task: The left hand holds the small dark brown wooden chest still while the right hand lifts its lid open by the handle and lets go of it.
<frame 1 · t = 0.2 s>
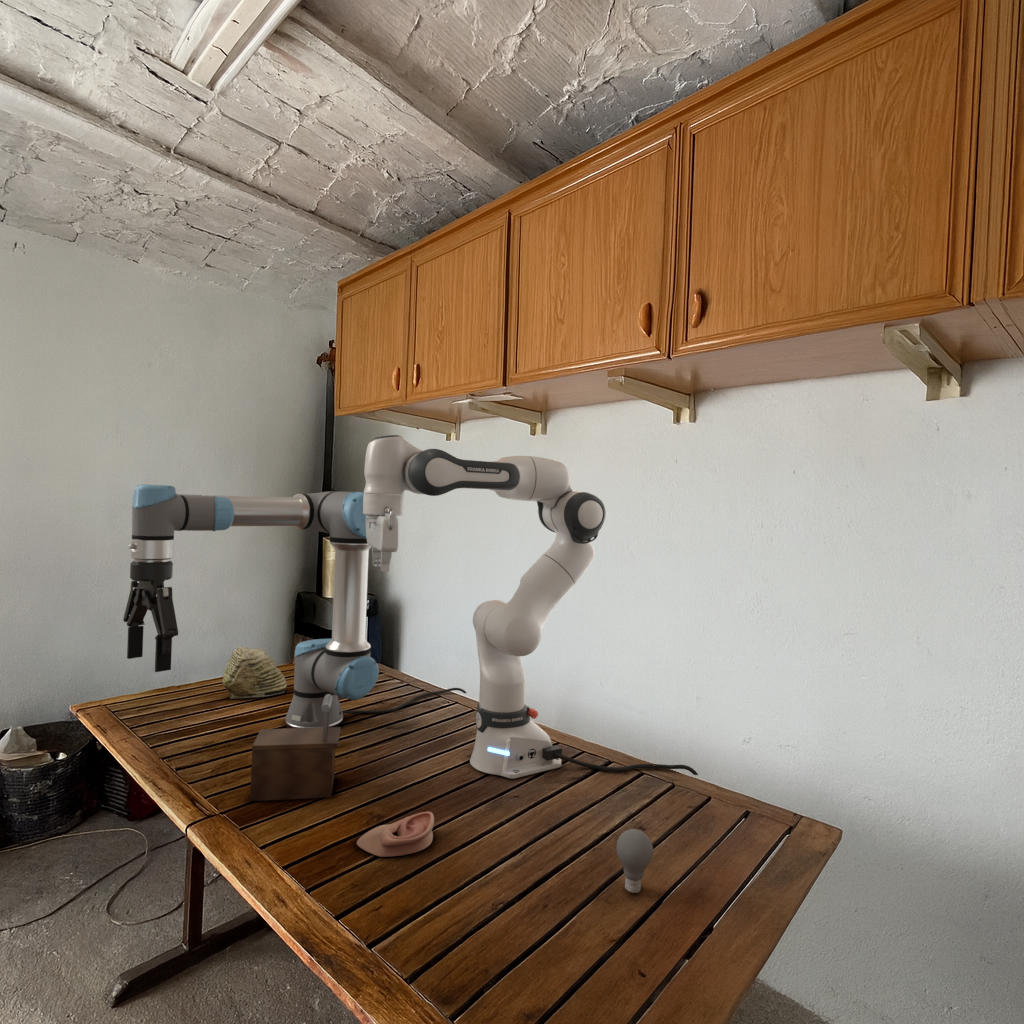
left hand: (148, 664, 129), 28 cm above the table, tool pointing down, fingers open, 13 cm apart
right hand: (380, 568, 142), 48 cm above the table, tool pointing down, fingers open, 8 cm apart
fossil: (254, 694, 198), on the table
anatomical model: (395, 841, 118), on the table
light bulb: (632, 891, 106), on the table
chest: (294, 789, 137), on the table
lid: (299, 720, 136), point 15 cm above the table, hinge at 0.0°
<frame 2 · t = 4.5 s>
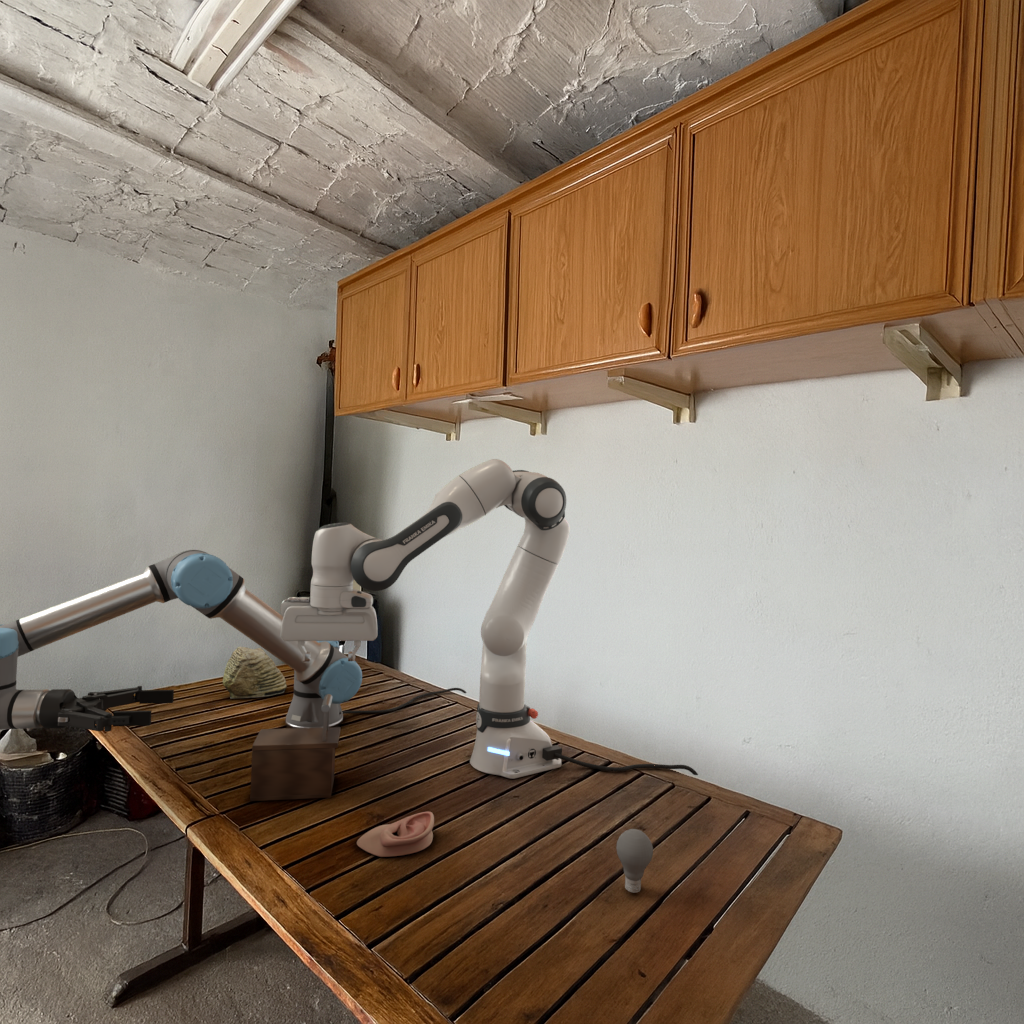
left hand: (162, 706, 131), 19 cm above the table, tool horizontal, fingers open, 13 cm apart
right hand: (329, 660, 137), 28 cm above the table, tool pointing down, fingers open, 8 cm apart
nothing on the table moved.
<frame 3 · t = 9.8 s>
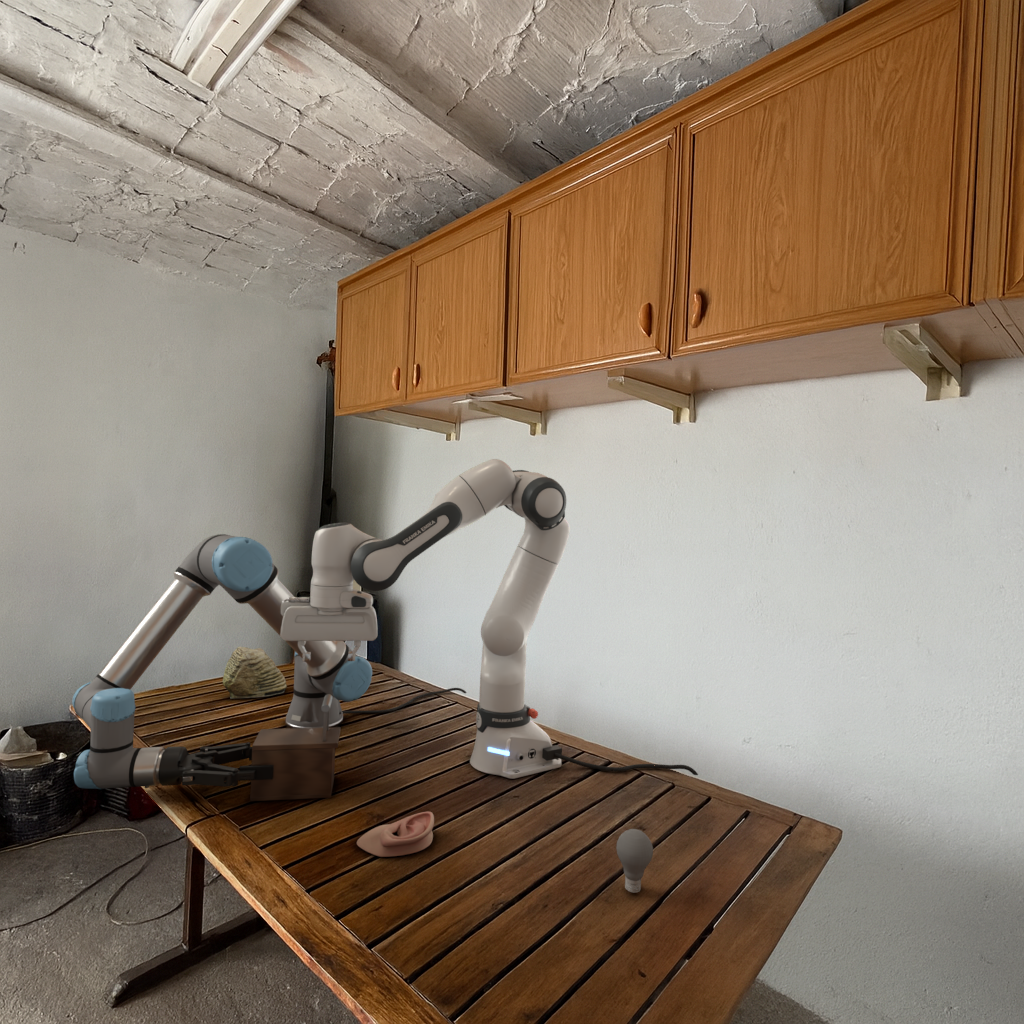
left hand: (276, 761, 136), 6 cm above the table, tool horizontal, fingers closed on chest, 9 cm apart
right hand: (329, 660, 137), 28 cm above the table, tool pointing down, fingers open, 8 cm apart
chest: (294, 789, 137), on the table, touching left hand
everything else where it was.
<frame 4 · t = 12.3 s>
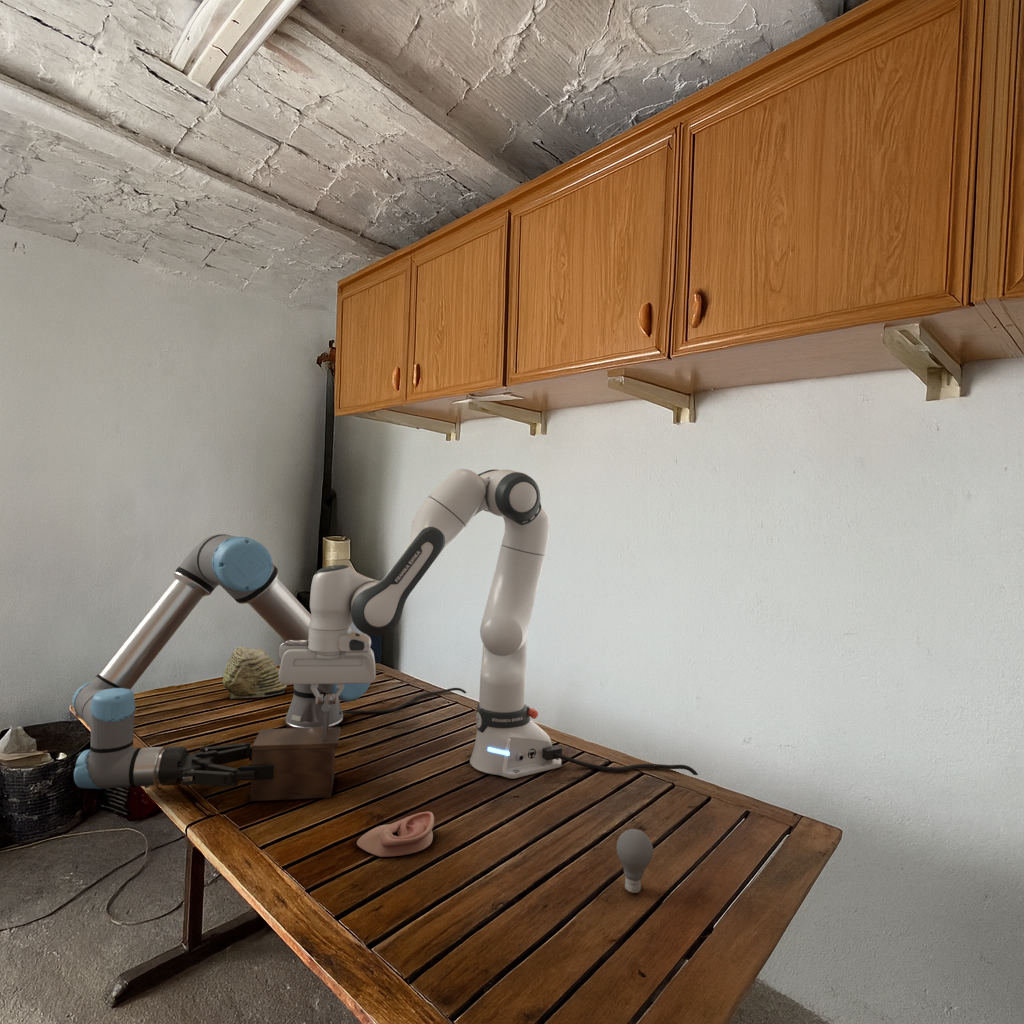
left hand: (276, 761, 136), 6 cm above the table, tool horizontal, fingers closed on chest, 9 cm apart
right hand: (327, 703, 138), 19 cm above the table, tool pointing down, fingers closed on lid, 2 cm apart
chest: (294, 789, 137), on the table, touching left hand
lid: (299, 720, 136), point 15 cm above the table, hinge at 0.0°, touching right hand
everything else where it was.
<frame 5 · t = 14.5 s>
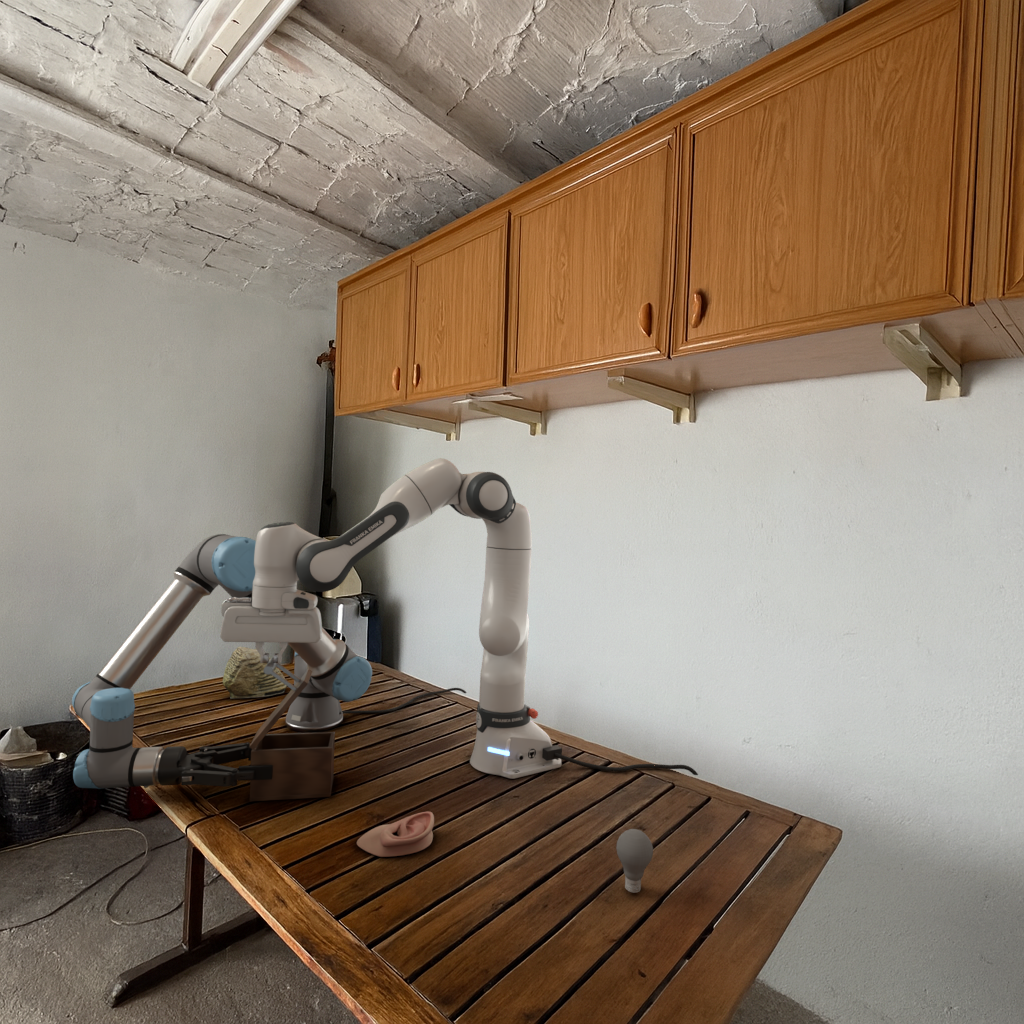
left hand: (276, 762, 136), 6 cm above the table, tool horizontal, fingers closed on chest, 9 cm apart
right hand: (270, 662, 135), 28 cm above the table, tool pointing down, fingers closed, pressing on lid
chest: (293, 789, 137), on the table, touching left hand
lid: (267, 696, 135), point 20 cm above the table, hinge at 52.4°, touching right hand
everything else where it was.
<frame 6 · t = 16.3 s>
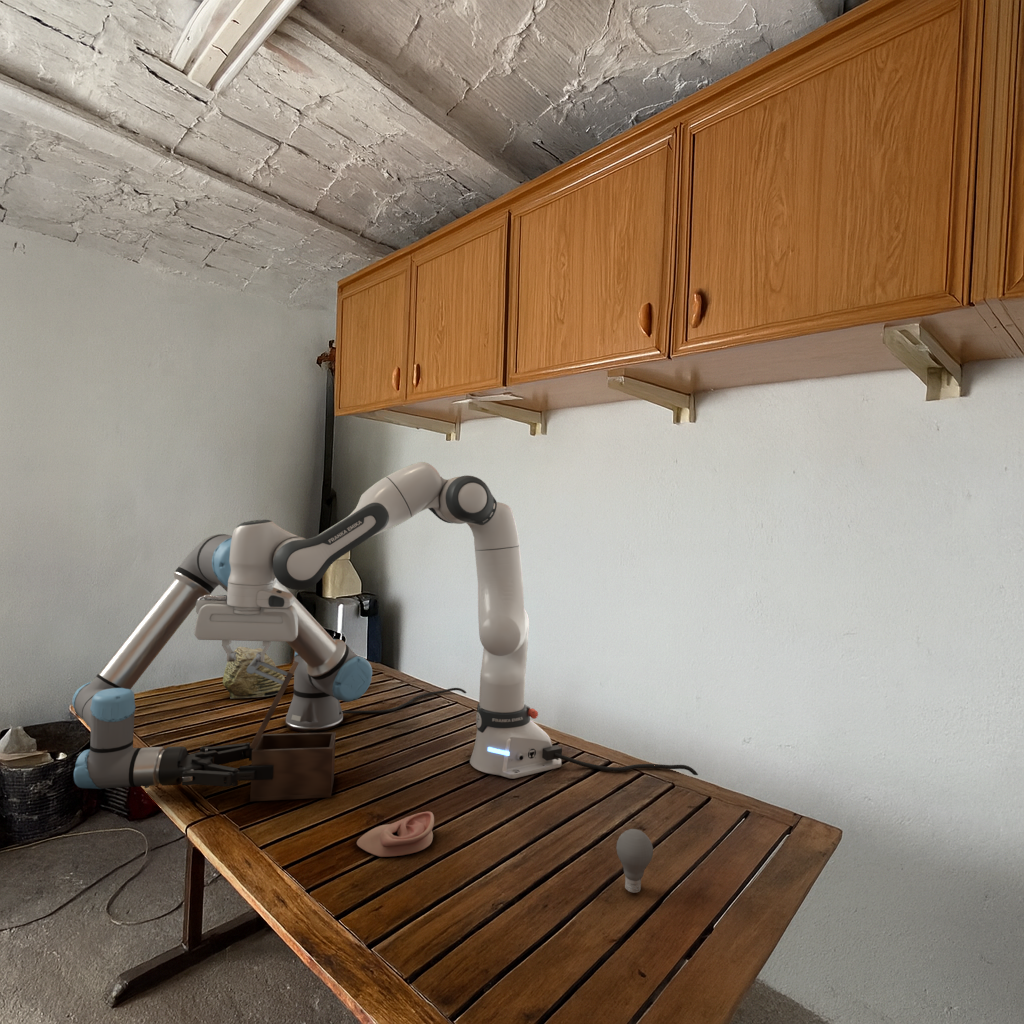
left hand: (276, 762, 136), 6 cm above the table, tool horizontal, fingers closed on chest, 9 cm apart
right hand: (245, 661, 134), 28 cm above the table, tool pointing down, fingers open, 4 cm apart
chest: (293, 789, 137), on the table, touching left hand
lid: (257, 696, 135), point 20 cm above the table, hinge at 65.2°, touching right hand
everything else where it was.
when the left hand's fingers open (6 cm above the table, at t = 19.6 s): chest stays where it is, on the table.
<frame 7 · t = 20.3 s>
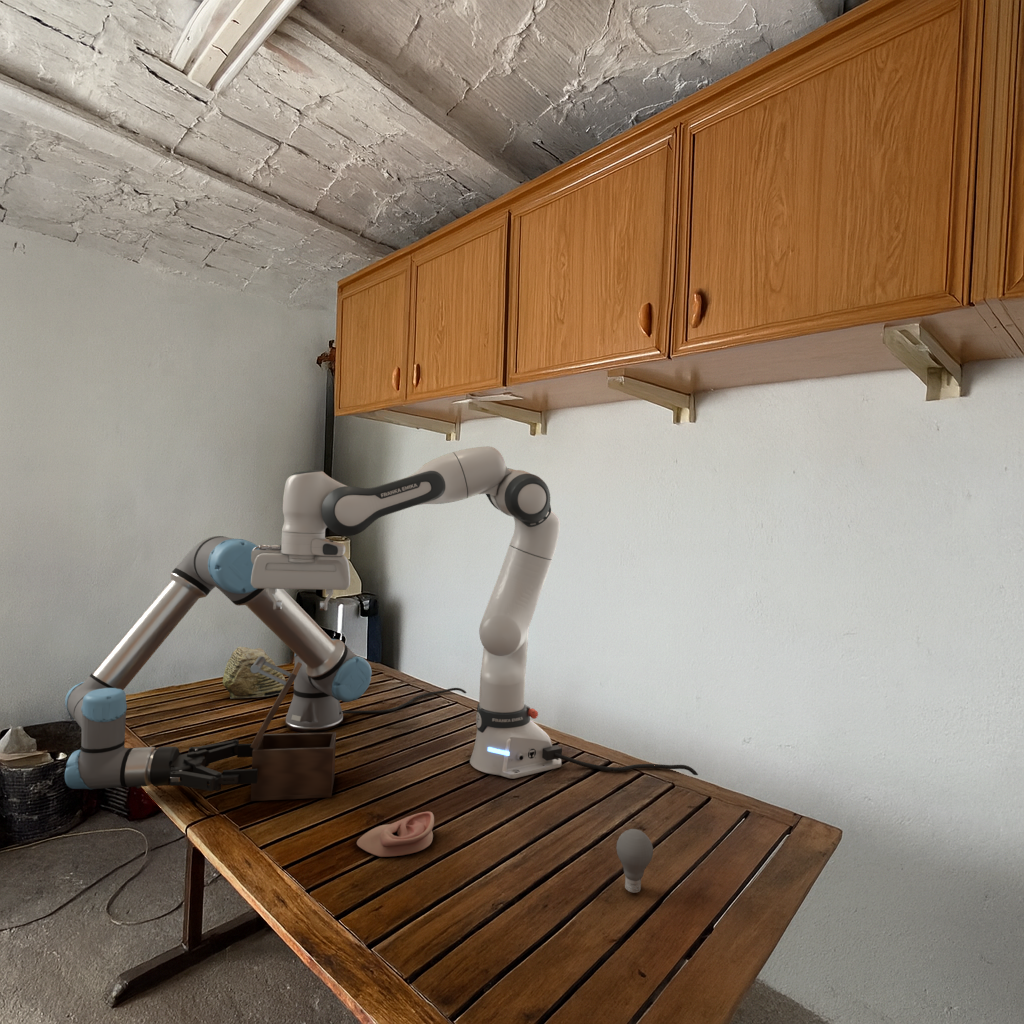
left hand: (263, 762, 135), 6 cm above the table, tool horizontal, fingers open, 13 cm apart
right hand: (300, 609, 136), 39 cm above the table, tool pointing down, fingers open, 8 cm apart
chest: (294, 789, 137), on the table
lid: (260, 695, 135), point 20 cm above the table, hinge at 63.2°
everything else where it was.
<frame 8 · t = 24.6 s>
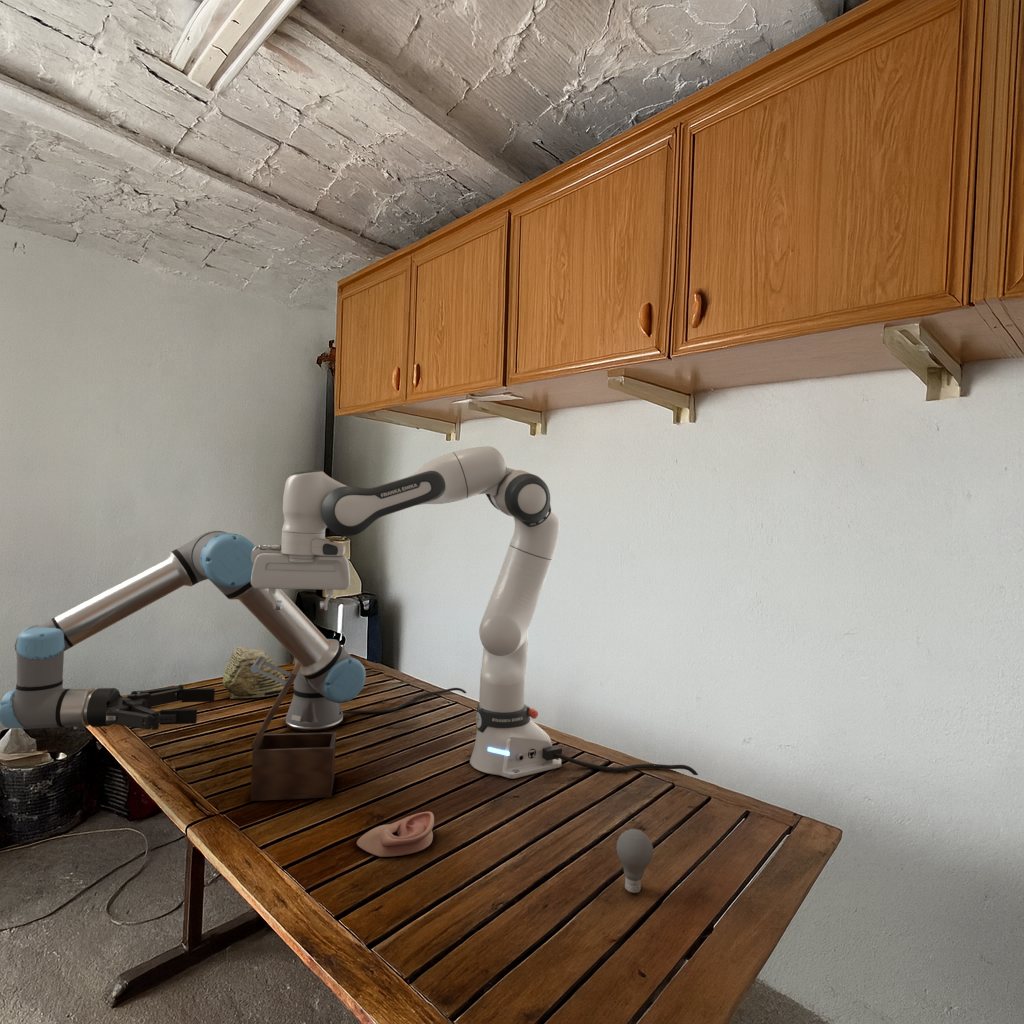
left hand: (205, 705, 133), 19 cm above the table, tool horizontal, fingers open, 13 cm apart
right hand: (300, 609, 136), 39 cm above the table, tool pointing down, fingers open, 8 cm apart
nothing on the table moved.
at the end: lid at +63° (first picture: +0°); the left hand is holding nothing; the right hand is holding nothing; chest tilted 0°; chest never tilted more than 1° during the clip; chest moved 0.1 cm from its start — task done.
